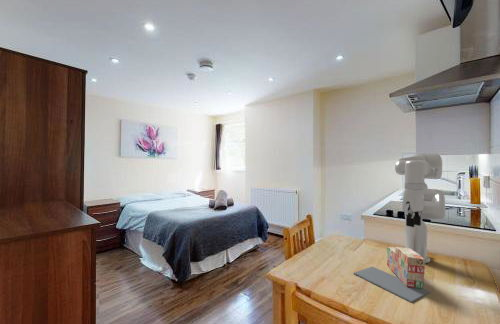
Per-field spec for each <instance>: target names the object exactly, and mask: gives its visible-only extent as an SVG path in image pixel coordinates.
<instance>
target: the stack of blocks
mask: <svg viewBox="0 0 500 324" xmlns="http://www.w3.org/2000/svg"><path fill="white" fill-rule="evenodd" d="M386 250H387V251H386V253H387V256H386V259H387V261H386V266H387V267H388V268H389V269H390V270H391V271H392V272H393V273H394V274H395V275H396V277H398V278H400V280H401V281H402V282H403V283H404V284H405V285H406V286H407V287H413V288H420V289H423V288H424V284H425V282H424V281H425V269H426V267H425V265H426V263H425V259H424V258H423V257H421V255H419V254H418V253H416V252H414V251H413V250H411V249H410V248H405V247H401V246H400V247H399V246H395V247H391V246H387V249H386Z"/></svg>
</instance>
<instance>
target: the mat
mask: <svg viewBox="0 0 500 324" xmlns="http://www.w3.org/2000/svg"><path fill="white" fill-rule="evenodd" d="M353 275H355V276H356V277H358V278H361V279H363V280H365V281H367V282H369V283H371V284H373V285H374V286H376V287H379V288H381V289H382V290H385V291H386V292H389V293H391V294H393V295H395V296H397V297H399V298H401V299H403V300H405V301H407V302H409V303H411V304H412V303H414V302H416V301H418V300H419V299H421V298H423V297H425V296H427V295H429V294H430V293H431V291H430V290H427V288H426V289H425V288H424V287H423V289H420V288H413V287H407V286H406V285H405V284H404V283H403V282H402V281H401V280H400V278H399V277H398V276H397V275H396V276H395V275H393V274H391V273H388V272H386V271H385V270H381V269H379V268H377V267H375V266H369V267H366V268H364V269H363V268H362V269H361V270H358V271H355V272H353Z"/></svg>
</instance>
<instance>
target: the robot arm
mask: <svg viewBox="0 0 500 324" xmlns="http://www.w3.org/2000/svg"><path fill="white" fill-rule="evenodd" d="M394 171H395V173H396V174H397V175H398V176H399V175H400V176H404V188H403V189H404V191H403V195H402V207H401V209H402V210H403V212H404V217H405V218H404V219H405V228H404V229H405V233H404V234H405V236H404V238H405V240H404V248H410V249H411V250H413V251H414V252H416V253H418V254H419V255H421V257H423V258H424V259H425V264H428V263H430V262H431V258H430V257H429V256H428V253H429V252H430V251H429V249H428V226H427V225H426V223H425V222H424V221H423V220H431V221H439V222H440V221H443V220H444V219H445V217H446V197H445V194H444V192H443V191H442V190H441V189H437V188H429V187H428V184H427V183H426V181H425V179H426V180H438V179H441V178H442V174H443V158H442V156H441V155H440V154H438V153H415V154H413V155H411V156H409V157H402V158H398V160H397V161H396V162H395V166H394Z"/></svg>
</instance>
